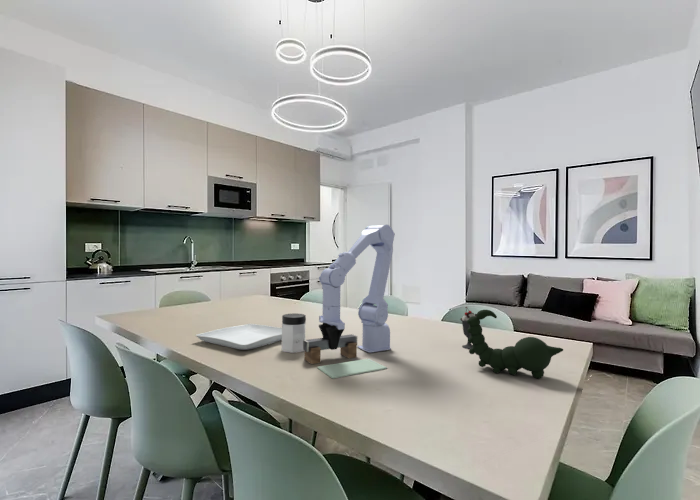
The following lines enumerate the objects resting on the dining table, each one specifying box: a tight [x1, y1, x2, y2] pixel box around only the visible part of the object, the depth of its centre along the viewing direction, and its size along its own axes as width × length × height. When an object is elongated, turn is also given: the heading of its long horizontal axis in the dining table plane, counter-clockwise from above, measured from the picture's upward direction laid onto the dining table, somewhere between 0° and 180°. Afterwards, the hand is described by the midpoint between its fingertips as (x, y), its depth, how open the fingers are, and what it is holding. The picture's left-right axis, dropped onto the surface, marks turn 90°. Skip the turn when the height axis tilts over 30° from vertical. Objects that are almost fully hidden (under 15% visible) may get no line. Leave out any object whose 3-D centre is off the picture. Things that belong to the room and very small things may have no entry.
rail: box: [303, 333, 358, 352], centre depth 118 cm, size 18×3×3 cm, turn 120°
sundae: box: [459, 306, 477, 350], centre depth 134 cm, size 7×7×15 cm
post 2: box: [339, 342, 358, 359], centre depth 122 cm, size 3×6×5 cm, turn 30°
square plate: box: [194, 323, 282, 351], centre depth 140 cm, size 27×27×4 cm
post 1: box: [303, 347, 322, 365], centre depth 115 cm, size 3×6×5 cm, turn 30°
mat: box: [316, 358, 388, 379], centre depth 109 cm, size 18×10×1 cm, turn 120°
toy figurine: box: [467, 309, 564, 380], centre depth 106 cm, size 9×19×25 cm
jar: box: [281, 313, 307, 354], centre depth 128 cm, size 9×8×12 cm
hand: (330, 347), depth 118 cm, fingers open, 3 cm apart
